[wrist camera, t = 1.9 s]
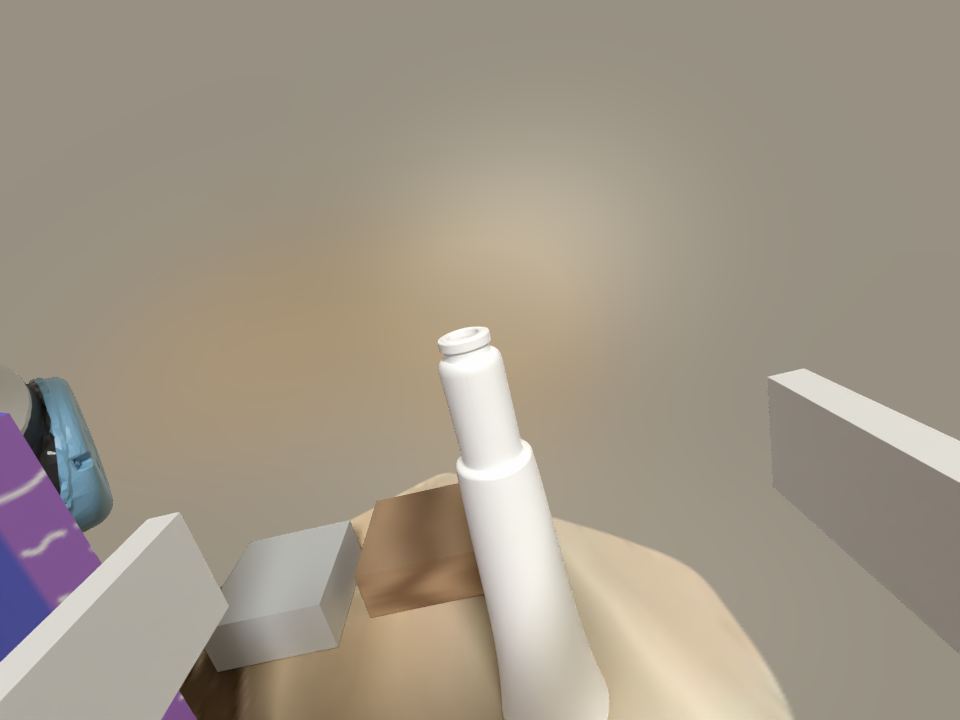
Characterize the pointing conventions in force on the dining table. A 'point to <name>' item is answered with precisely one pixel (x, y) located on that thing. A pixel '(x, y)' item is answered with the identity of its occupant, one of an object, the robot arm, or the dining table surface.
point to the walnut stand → (417, 553)
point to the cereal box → (39, 548)
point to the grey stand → (287, 597)
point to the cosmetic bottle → (516, 545)
